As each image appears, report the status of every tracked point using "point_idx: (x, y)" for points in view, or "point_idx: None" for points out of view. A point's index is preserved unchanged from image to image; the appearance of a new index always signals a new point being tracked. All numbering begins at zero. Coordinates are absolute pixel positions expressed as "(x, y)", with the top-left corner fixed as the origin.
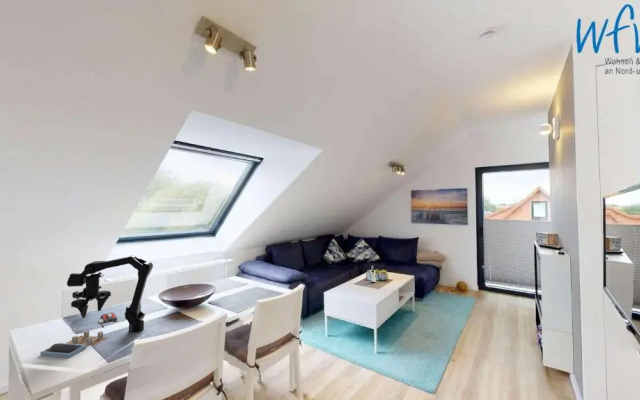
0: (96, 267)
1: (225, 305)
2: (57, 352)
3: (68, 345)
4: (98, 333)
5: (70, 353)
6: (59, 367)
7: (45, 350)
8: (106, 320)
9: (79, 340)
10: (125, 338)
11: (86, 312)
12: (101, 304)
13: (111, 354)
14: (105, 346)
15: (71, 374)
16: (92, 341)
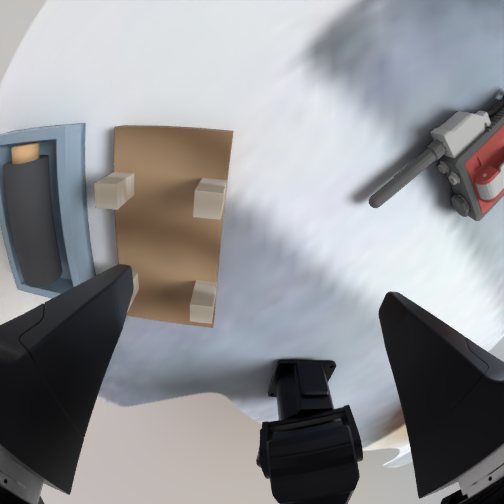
0: None
1: None
2: (5, 226)
3: (22, 261)
4: (190, 307)
5: (22, 289)
6: (4, 275)
7: (2, 144)
8: (459, 175)
9: (156, 186)
10: (237, 370)
11: (103, 371)
12: (411, 401)
13: (112, 378)
14: (152, 339)
15: None
16: (157, 277)
